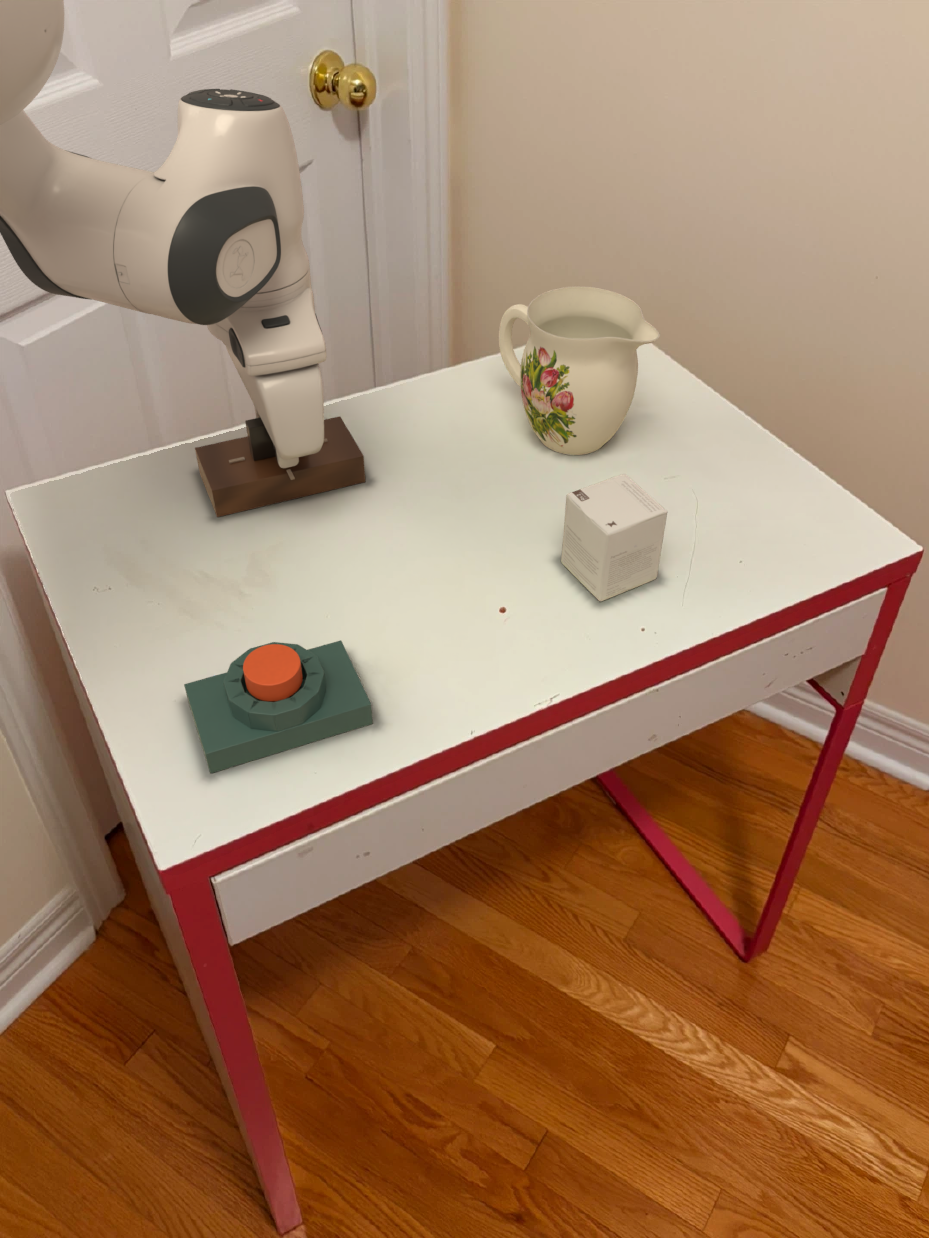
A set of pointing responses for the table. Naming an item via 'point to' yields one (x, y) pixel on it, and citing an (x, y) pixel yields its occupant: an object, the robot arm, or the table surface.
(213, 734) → the button block
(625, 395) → the pitcher
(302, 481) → the dial panel
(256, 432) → the dark brown box
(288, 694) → the release button
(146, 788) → the table surface
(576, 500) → the product carton
